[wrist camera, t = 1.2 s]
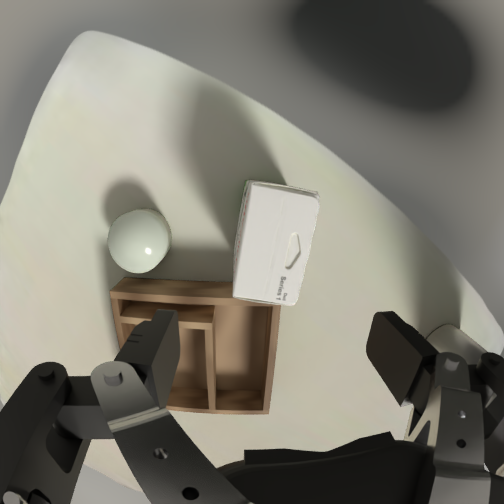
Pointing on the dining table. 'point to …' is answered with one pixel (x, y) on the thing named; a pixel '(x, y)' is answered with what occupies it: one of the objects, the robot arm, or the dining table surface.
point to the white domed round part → (139, 240)
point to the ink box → (273, 242)
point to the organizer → (208, 342)
